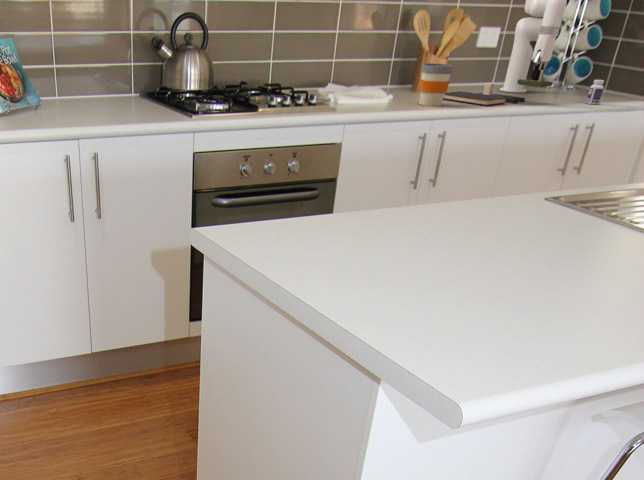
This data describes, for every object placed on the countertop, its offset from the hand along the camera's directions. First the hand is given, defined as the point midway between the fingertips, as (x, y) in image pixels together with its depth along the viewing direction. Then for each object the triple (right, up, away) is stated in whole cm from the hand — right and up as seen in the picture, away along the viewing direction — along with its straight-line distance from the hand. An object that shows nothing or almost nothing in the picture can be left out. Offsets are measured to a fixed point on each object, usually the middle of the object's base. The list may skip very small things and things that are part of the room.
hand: (536, 79), depth 317 cm
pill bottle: (+32, -5, +13) cm, 34 cm away
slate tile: (-14, 0, +16) cm, 22 cm away
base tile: (-8, -4, +11) cm, 14 cm away
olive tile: (-1, -1, +2) cm, 3 cm away
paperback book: (-26, -7, +5) cm, 28 cm away
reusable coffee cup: (-49, -15, -8) cm, 52 cm away
